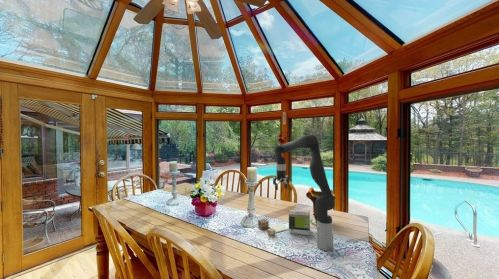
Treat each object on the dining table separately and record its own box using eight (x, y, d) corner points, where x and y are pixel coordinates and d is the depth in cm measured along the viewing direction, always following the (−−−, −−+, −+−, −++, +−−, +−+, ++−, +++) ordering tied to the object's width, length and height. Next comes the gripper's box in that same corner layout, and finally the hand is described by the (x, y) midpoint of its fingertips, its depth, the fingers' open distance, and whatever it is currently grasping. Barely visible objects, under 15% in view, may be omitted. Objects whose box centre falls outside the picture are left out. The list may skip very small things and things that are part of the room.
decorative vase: (339, 228, 175) (337, 192, 174) (308, 227, 180) (306, 192, 179) (334, 217, 195) (332, 185, 195) (306, 217, 200) (305, 186, 199)
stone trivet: (289, 229, 175) (289, 228, 175) (276, 232, 169) (276, 231, 169) (280, 223, 185) (280, 222, 185) (267, 226, 180) (267, 225, 180)
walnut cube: (268, 228, 177) (268, 221, 176) (262, 230, 174) (261, 222, 174) (264, 225, 182) (264, 218, 182) (258, 227, 179) (258, 219, 179)
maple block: (275, 235, 166) (275, 229, 166) (271, 236, 163) (271, 231, 163) (270, 233, 169) (270, 228, 169) (267, 235, 166) (267, 229, 166)
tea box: (310, 230, 173) (310, 210, 173) (309, 235, 164) (309, 215, 163) (290, 227, 178) (290, 209, 177) (288, 233, 168) (288, 213, 167)
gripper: (276, 170, 178) (276, 191, 179) (291, 169, 185) (291, 189, 185) (271, 169, 185) (271, 189, 186) (285, 168, 192) (285, 187, 192)
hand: (281, 189), depth 186 cm, fingers open, 8 cm apart
